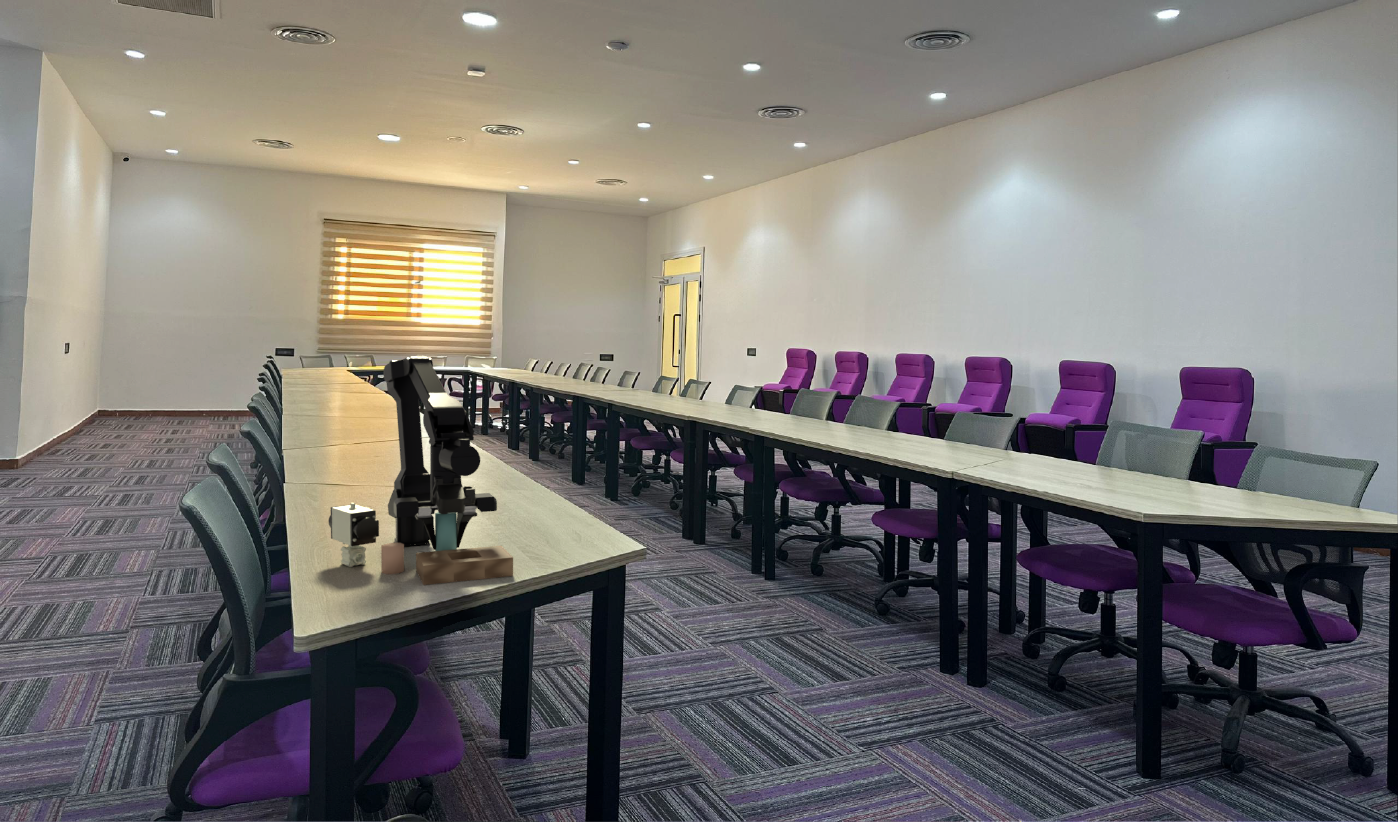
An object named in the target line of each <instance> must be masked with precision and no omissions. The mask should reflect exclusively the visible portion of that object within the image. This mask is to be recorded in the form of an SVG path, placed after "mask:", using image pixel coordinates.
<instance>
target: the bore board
mask: <svg viewBox="0 0 1398 822" xmlns="http://www.w3.org/2000/svg"><path fill="white" fill-rule="evenodd" d="M415 556H416V557H415V558H416V559H415V572H416V573H417V575H418V578H419V579H420V581H421V583H422V585H423V586H425V585H426V586H427V585H436V584H437V585H438V584H444V583H446V584H447V583H457V582H466V581H476V580H485V579H495V578H505V577H507V578H508V577H514V557H513V556H512V555H511V553H510V552H508V551H507V549H505V547H503V546H502V545H494V546H493V545H492V546H481V547H479V546H478V547H469V548H468V547H467V548H457V549H455V550H443V551H434V550H432V551H423V552H421V551H420V552H416V553H415Z"/></svg>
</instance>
